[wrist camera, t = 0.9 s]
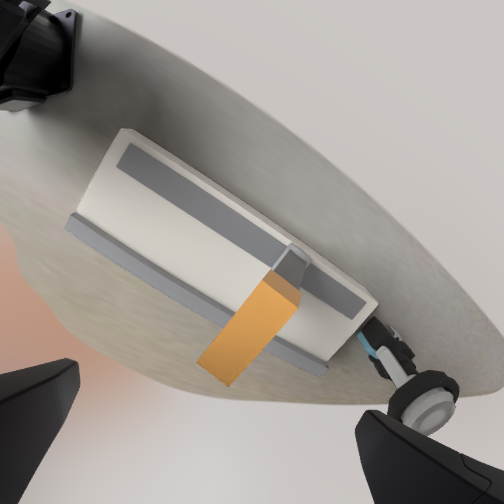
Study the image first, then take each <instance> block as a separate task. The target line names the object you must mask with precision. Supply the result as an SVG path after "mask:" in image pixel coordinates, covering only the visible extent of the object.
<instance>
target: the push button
mask: <svg viewBox="0 0 504 504" xmlns="http://www.w3.org/2000/svg"><path fill="white" fill-rule="evenodd" d="M389 327H390V328H391V329H392V331H393V332H394V333H395V334H394V336H392V335H391V334H390V333H389V332H388V330H387V329H386V328H385V327H384V326H383V324H382V323H381V322H380V321H379V320H378V319H377V318H375V317H373V318H372V319H371V320H370V321H369V322H368V323H367V324H366V326H365V327H364V328H363V329H362V330H361V331H360V332H359V333H358V334H357V335H356V336H357V337H358V339H359V340H360V342H361V343H362V345H363V347H364V348H365V352H366V353H367V355H368V357H369V359H370V361H371V362H373V363H374V366H375V368H376V369H377V371H378V373H379V374H380V376H381V377H383V378H385V379H389V380H391V381H393V383H394V385H395V386H396V391H395V393H394V394H393V396H392V397H391V398H390V400H389V406H388V412H387V415H388V416H389V417H391V418H393V419H395V420H397V421H399V422H400V423H402V424H404V425H406V426H408V427H410V428H412V429H414V430H416V431H417V432H419V433H421V434H423V435H425V436H428V435H430V434H432V433H434V432H436V431H437V430H439V429H440V428H441V427H443V426H444V425H445V423H447V422H448V420H449V419H450V418H451V416H452V415H453V414H454V410H455V408H456V406H455V403H456V401H457V399H458V396H459V386H458V384H457V383H456V381H455V380H454V379H452V378H450V377H447V375H446V374H445V373H444V372H440V371H433V370H427V371H425V372H422V373H418V372H417V371H416V366H415V364H414V363H413V361H412V360H411V359H412V358H413V357H414V356H415V354H414V353H413V352H412V350H411V349H410V348H409V347H408V346H407V345H406V343H404V342H402V340H403V339H402V338H401V336H400V335H399V334H398V332H397V331H396V330H395V329H394V328H393V327H392V326H390V325H389ZM369 354H370V355H369Z"/></svg>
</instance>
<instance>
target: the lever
mask: <svg viewBox="0 0 504 504" xmlns="http://www.w3.org/2000/svg"><path fill="white" fill-rule="evenodd" d="M311 261H312V258H311V257H310V256H309V255H308V254H307V253H306V252H305V251H304V250H302V249H301V248H300V247H298V246H297V245H295V244H293V243H290V244H289V245H288V247H287V248H286V249H285V251H284V252H283V253H282V254H281V256H280V257H279V258H278V260H277V261H276V262H275V264H274V265H273V266H272V267H271V269H270V270H269V271H268V273H267V274H266V275H265V276H264V278H263V279H262V280H261V281H260V283H259V284H258V285H257V287H256V288H255V289H254V290H253V292H252V293H251V294H250V296H249V297H248V298H247V299H246V301H245V302H244V303H243V304H242V306H241V307H240V308H239V310H238V311H237V312H236V313H235V315H234V316H233V317H232V318H231V320H230V321H229V322H228V323H227V325H226V326H225V327H224V328H223V330H222V331H221V332H220V334H219V335H218V336H217V337H216V339H215V340H214V341H213V342H212V344H211V345H210V346H209V347H208V349H207V350H206V351H205V352H204V353H203V355H202V356H201V357H200V358H199V360H198V361H197V363H198V364H199V365H200V366H202V367H203V368H204V369H205V370H207V371H208V372H209V373H211V374H212V375H213V376H214V377H216V378H217V379H218V380H220V381H221V382H222V383H224V384H225V385H226V386H228V387H229V386H230V385H231V384H232V383H233V382H234V380H235V379H236V378H237V377H238V376H239V375H240V374H241V373H242V372H243V371H244V370H245V369H246V367H247V366H248V365H249V364H250V363H251V362H252V361H253V360H254V359H255V357H256V356H257V355H258V354H259V353H260V352H261V351H262V350H263V349H264V347H265V346H266V345H267V344H268V343H269V342H270V341H271V339H272V338H273V337H274V336H275V335H276V334H277V333H278V331H279V330H280V329H281V328H282V327H283V326H284V325H285V323H286V322H287V321H288V320H289V319H290V318H291V316H292V315H293V314H294V313H295V312H296V310H297V309H298V308H299V304H300V300H301V296H302V293H301V292H300V291H299V289H300V286H301V282H302V279H303V275H304V272H305V269H306V268H307V266H308V265H309V264H310V263H311Z"/></svg>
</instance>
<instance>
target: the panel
mask: <svg viewBox="0 0 504 504" xmlns="http://www.w3.org/2000/svg"><path fill="white" fill-rule="evenodd" d="M64 229H65V230H67V231H68V232H70V233H71V234H73V235H74V236H75V237H77V238H78V239H80V240H81V241H83V242H84V243H86V244H87V245H89V246H90V247H91V248H93V249H94V250H96V251H97V252H99V253H100V254H102V255H103V256H105V257H106V258H108V259H109V260H111V261H113V262H114V263H116V264H117V265H119V266H120V267H122V268H123V269H125V270H126V271H128V272H130V273H131V274H133V275H134V276H136V277H137V278H139V279H141V280H142V281H144V282H145V283H147V284H149V285H150V286H152V287H154V288H155V289H157V290H158V291H160V292H162V293H163V294H165V295H167V296H168V297H170V298H172V299H173V300H175V301H177V302H178V303H180V304H182V305H183V306H185V307H187V308H189V309H190V310H192V311H194V312H195V313H197V314H199V315H201V316H202V317H204V318H206V319H208V320H209V321H211V322H213V323H215V324H217V325H218V326H220V327H222V328H224V327H225V326H226V325H227V323H228V322H229V321H230V320H231V318H232V317H233V316H234V315H235V313H236V312H237V311H238V310H239V308H240V307H241V306H242V304H243V303H244V302H245V301H246V299H247V298H248V297H249V296H250V294H251V293H252V292H253V290H254V289H255V288H256V287H257V285H258V284H259V283H260V281H261V280H262V279H263V278H264V276H265V275H266V274H267V273H268V271H269V270H270V269H271V267H272V266H273V265H274V264H275V262H276V261H277V260H278V258H279V257H280V256H281V254H282V253H283V252H284V251H285V249H286V248H287V247H288V245H289V244H290V243H293V244H295V245H297V246H298V247H300V248H301V249H302V250H304V251H305V252H306V253H307V254H308V255H309V256H310V257H311V258H312V261H311V263H310V264H309V265H308V266H307V268H306V269H305V272H304V275H303V279H302V282H301V286H300V289H299V291H300V292H301V293H302V296H301V300H300V304H299V308H298V309H297V310H296V312H295V313H294V314H293V315H292V316H291V318H290V319H289V320H288V321H287V322H286V323H285V325H284V326H283V327H282V328H281V329H280V330H279V331H278V333H277V334H276V335H275V336H274V337H273V338H272V339H271V341H270V342H269V343H268V344H267V345H266V346H265V347H264V349H263V350H265V351H267V352H269V353H271V354H272V355H274V356H276V357H278V358H280V359H282V360H284V361H286V362H288V363H290V364H292V365H294V366H296V367H298V368H300V369H302V370H304V371H306V372H308V373H311V374H313V375H315V376H317V377H319V378H320V377H321V376H322V375H323V374H324V373H325V372H326V371H327V370H328V369H329V368H328V366H327V363H326V362H327V361H328V360H329V359H330V358H331V357H332V356H333V355H334V353H335V352H336V351H337V350H338V349H339V348H340V347H341V346H342V345H343V344H344V343H345V342H346V341H347V340H348V338H349V337H350V336H351V335H352V334H353V333H354V332H355V331H356V330H357V328H358V327H359V326H360V325H361V324H362V323H363V322H364V321H365V319H366V318H367V317H368V316H369V315H370V314H371V312H372V311H373V310H374V309H375V308H376V307H377V305H378V304H379V303H378V302H377V301H376V300H375V299H374V297H373V296H372V295H371V294H370V293H369V291H368V290H367V289H366V288H365V287H363V286H362V285H361V284H359V283H358V282H357V281H355V280H354V279H352V278H351V277H350V276H348V275H347V274H346V273H344V272H343V271H342V270H340V269H339V268H337V267H336V266H335V265H333V264H332V263H330V262H329V261H328V260H326V259H325V258H324V257H322V256H321V255H319V254H318V253H317V252H315V251H314V250H312V249H311V248H310V247H308V246H307V245H305V244H304V243H302V242H301V241H300V240H298V239H297V238H295V237H294V236H293V235H291V234H290V233H288V232H287V231H285V230H284V229H283V228H281V227H280V226H278V225H277V224H275V223H274V222H273V221H271V220H270V219H268V218H267V217H265V216H264V215H262V214H261V213H260V212H258V211H257V210H255V209H254V208H252V207H251V206H249V205H248V204H246V203H245V202H243V201H242V200H240V199H239V198H238V197H236V196H235V195H233V194H232V193H230V192H229V191H227V190H226V189H224V188H223V187H221V186H220V185H218V184H217V183H215V182H214V181H212V180H211V179H209V178H208V177H206V176H205V175H203V174H202V173H200V172H199V171H197V170H196V169H194V168H193V167H191V166H190V165H188V164H187V163H185V162H183V161H182V160H180V159H179V158H177V157H176V156H174V155H173V154H171V153H170V152H168V151H167V150H165V149H163V148H162V147H160V146H159V145H157V144H156V143H154V142H152V141H151V140H149V139H148V138H146V137H145V136H143V135H141V134H140V133H138V132H137V131H135V130H134V129H125V128H121V129H120V130H119V132H118V134H117V135H116V137H115V139H114V140H113V142H112V144H111V146H110V147H109V149H108V151H107V153H106V154H105V156H104V158H103V160H102V161H101V163H100V165H99V167H98V169H97V171H96V173H95V174H94V176H93V178H92V180H91V182H90V184H89V186H88V188H87V190H86V192H85V194H84V196H83V198H82V200H81V202H80V204H79V206H78V208H77V210H76V212H75V213H73V214H71V215H70V217H69V219H68V221H67V223H66V226H65V228H64Z"/></svg>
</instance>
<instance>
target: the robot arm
mask: <svg viewBox="0 0 504 504" xmlns="http://www.w3.org/2000/svg"><path fill="white" fill-rule="evenodd" d="M50 3H51V1H49V0H0V110H10V111H19V110H23V109H26V108H29V107H33V106H36V105H39V104H43V103H44V102H45V101H46V98H48V97H51V96H55V95H59V94H63V93H67V92H69V91H70V90H71V88H72V86H73V61H74V43H75V30H76V20H77V12H76V11H75V10H73V9H68V10H65V11H62V12H59V13H56V14H51V13H49V12H48V11H46V10H44V9H45V8H46V7H47V6H48V5H49V4H50ZM70 14H72V15H71V16H70V17H69V18H68V16H69V15H70ZM66 82H67V87H66V88H64V84H65V83H66ZM79 388H80V374H79V365H78V362H76V361H74V360H71V359H68V358H64V359H60V360H56V361H52V362H49V363H45V364H41V365H37V366H33V367H29V368H25V369H21V370H16V371H13V372H9V373H4V374H0V504H18V503H19V501H20V499H21V497H22V495H23V493H24V491H25V490H26V488H27V486H28V484H29V482H30V480H31V478H32V477H33V475H34V473H35V471H36V470H37V468H38V466H39V464H40V463H41V461H42V459H43V457H44V456H45V454H46V452H47V451H48V449H49V447H50V446H51V444H52V442H53V440H54V439H55V437H56V435H57V434H58V432H59V430H60V429H61V427H62V425H63V424H64V422H65V420H66V418H67V415H68V413H69V411H70V409H71V406H72V404H73V401H74V399H75V397H76V395H77V393H78V391H79ZM355 437H356V441H357V446H358V451H359V455H360V460H361V464H362V468H363V471H364V474H365V477H366V480H367V483H368V486H369V489H370V491H371V494H372V497H373V500H374V503H375V504H504V471H503V470H500V469H497V468H495V467H492V466H490V465H487V464H485V463H482V462H479V461H477V460H475V459H473V458H471V457H469V456H466V455H464V454H462V453H461V454H460V453H459V452H457V451H455V450H453V449H451V448H449V447H447V446H445V445H443V444H441V443H439V442H437V441H435V440H433V439H431V438H429V437H427V436H425V435H423V434H421V433H419V432H417V431H416V430H414V429H412V428H410V427H408V426H406V425H404V424H402V423H400V422H399V421H397V420H395V419H393V418H391V417H389V416H388V415H386V414H384V413H382V412H380V411H378V410H366V411H365V412H364V414H363V416H362V417H361V419H360V421H359V422H358V424H357V426H356V428H355Z"/></svg>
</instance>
